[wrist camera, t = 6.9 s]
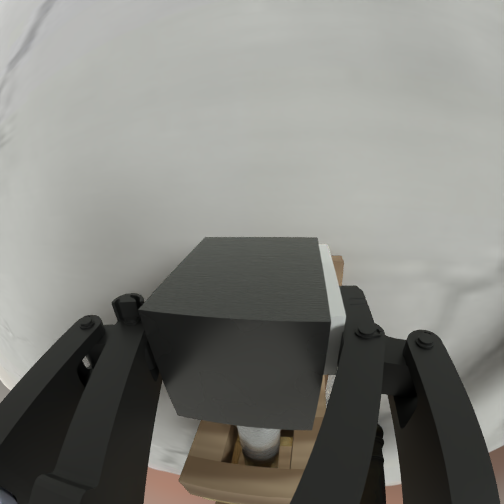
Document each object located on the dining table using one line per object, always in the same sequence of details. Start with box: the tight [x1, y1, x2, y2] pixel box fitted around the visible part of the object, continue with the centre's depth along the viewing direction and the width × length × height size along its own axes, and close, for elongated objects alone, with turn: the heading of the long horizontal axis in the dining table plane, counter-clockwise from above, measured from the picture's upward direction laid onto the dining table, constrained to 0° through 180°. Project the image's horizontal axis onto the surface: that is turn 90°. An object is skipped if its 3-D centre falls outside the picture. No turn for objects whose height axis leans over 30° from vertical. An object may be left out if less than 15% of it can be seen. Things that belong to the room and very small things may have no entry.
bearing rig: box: [179, 256, 344, 504], centre depth 18 cm, size 24×10×15 cm, turn 3°
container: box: [360, 424, 386, 504], centre depth 21 cm, size 9×9×18 cm
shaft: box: [138, 237, 331, 468], centre depth 14 cm, size 24×5×6 cm, turn 3°
